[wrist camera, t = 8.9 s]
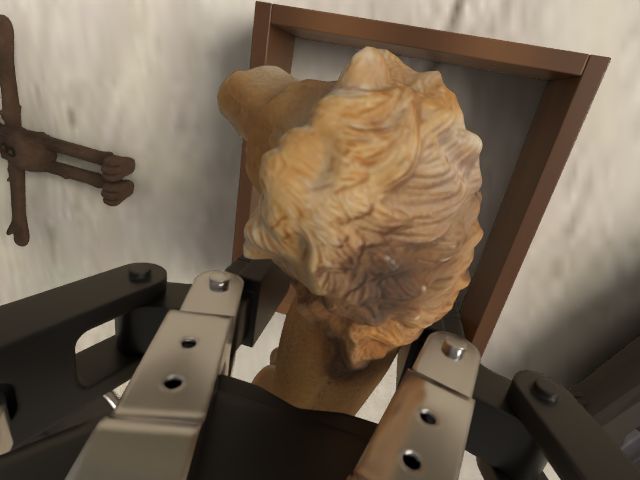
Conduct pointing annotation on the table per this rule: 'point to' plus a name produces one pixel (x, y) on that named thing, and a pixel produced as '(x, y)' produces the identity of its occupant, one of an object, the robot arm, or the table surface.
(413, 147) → the lion figurine
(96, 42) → the table surface
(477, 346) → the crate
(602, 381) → the toy blaster
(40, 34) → the table surface
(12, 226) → the brown humanoid figurine
